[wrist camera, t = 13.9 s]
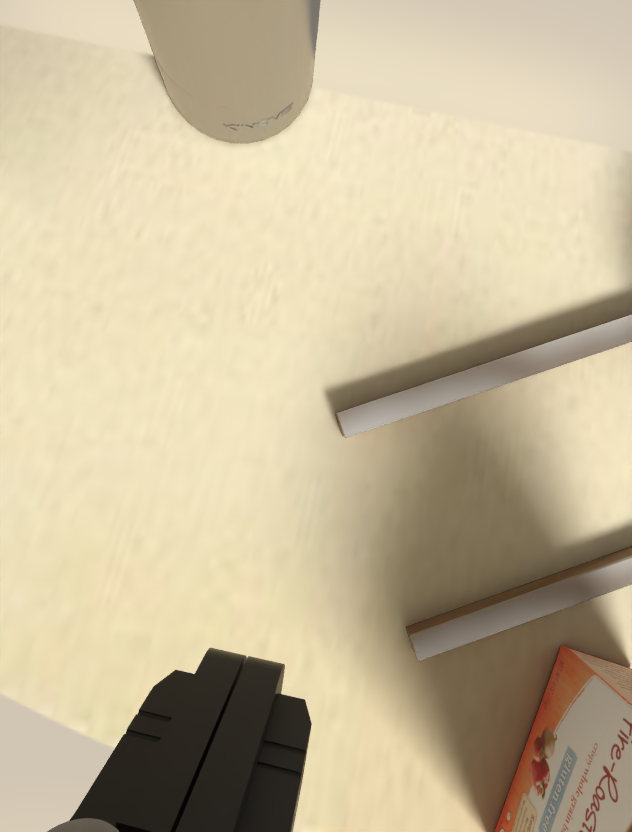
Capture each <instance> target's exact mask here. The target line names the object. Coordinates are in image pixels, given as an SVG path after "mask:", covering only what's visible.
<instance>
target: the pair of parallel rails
mask: <svg viewBox="0 0 632 832" xmlns="http://www.w3.org/2000/svg"><path fill="white" fill-rule="evenodd" d="M629 342H632V314H631V315H628V316H625V317H622V318H619V319H616V320H613V321H610V322H607V323H604V324H601V325H598V326H595V327H592V328H589V329H586V330H583V331H580V332H577V333H574V334H571V335H568V336H565V337H562V338H559V339H556V340H553V341H550V342H547V343H544V344H541V345H538V346H535V347H532V348H529V349H526V350H523V351H520V352H517V353H514V354H511V355H508V356H505V357H502V358H499V359H496V360H493V361H490V362H487V363H484V364H481V365H478V366H475V367H472V368H469V369H466V370H463V371H460V372H457V373H454V374H451V375H448V376H445V377H442V378H439V379H436V380H433V381H430V382H427V383H424V384H421V385H418V386H415V387H412V388H409V389H406V390H403V391H400V392H397V393H394V394H391V395H388V396H385V397H382V398H379V399H376V400H373V401H370V402H367V403H364V404H361V405H358V406H355V407H352V408H349V409H346V410H343V411H340V412H337V413H335V414H336V417H337V420H338V423H339V427H340V430H341V433H342V436H344V437H345V438H347V437H350V436H353V435H356V434H359V433H362V432H365V431H368V430H371V429H374V428H377V427H380V426H383V425H386V424H389V423H392V422H395V421H398V420H401V419H403V418H406V417H409V416H412V415H415V414H418V413H421V412H424V411H427V410H430V409H433V408H436V407H439V406H442V405H445V404H448V403H451V402H454V401H457V400H460V399H463V398H466V397H469V396H472V395H475V394H478V393H481V392H484V391H487V390H490V389H493V388H496V387H499V386H502V385H505V384H507V383H510V382H513V381H516V380H519V379H522V378H525V377H528V376H531V375H534V374H537V373H540V372H543V371H546V370H549V369H552V368H555V367H558V366H561V365H564V364H567V363H570V362H573V361H576V360H579V359H582V358H585V357H588V356H591V355H594V354H597V353H600V352H603V351H606V350H609V349H612V348H614V347H617V346H620V345H623V344H626V343H629ZM631 584H632V547H629V548H626V549H624V550H621V551H618V552H615V553H612V554H610V555H607V556H604V557H601V558H598V559H596V560H593V561H590V562H587V563H584V564H582V565H579V566H576V567H573V568H570V569H568V570H565V571H562V572H559V573H556V574H554V575H551V576H548V577H545V578H542V579H540V580H537V581H534V582H531V583H528V584H526V585H523V586H520V587H517V588H515V589H512V590H509V591H506V592H503V593H501V594H498V595H495V596H492V597H489V598H487V599H484V600H481V601H478V602H475V603H473V604H470V605H467V606H464V607H461V608H459V609H456V610H453V611H450V612H447V613H445V614H442V615H439V616H436V617H433V618H431V619H428V620H425V621H422V622H419V623H417V624H414V625H411V626H408V627H406V630H407V633H408V636H409V639H410V642H411V645H412V648H413V650H414V652H415V654H416V656H417V658H418V660H419V661H421V660H424V659H427V658H429V657H432V656H435V655H438V654H440V653H443V652H446V651H449V650H451V649H454V648H457V647H460V646H463V645H465V644H468V643H471V642H474V641H476V640H479V639H482V638H485V637H487V636H490V635H493V634H496V633H498V632H501V631H504V630H507V629H510V628H512V627H515V626H518V625H521V624H523V623H526V622H529V621H532V620H534V619H537V618H540V617H543V616H545V615H548V614H551V613H554V612H557V611H559V610H562V609H565V608H568V607H570V606H573V605H576V604H579V603H581V602H584V601H587V600H590V599H593V598H595V597H598V596H601V595H604V594H606V593H609V592H612V591H615V590H617V589H620V588H623V587H626V586H628V585H631Z"/></svg>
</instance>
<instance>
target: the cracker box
mask: <svg viewBox="0 0 632 832" xmlns="http://www.w3.org/2000/svg"><path fill="white" fill-rule="evenodd" d="M495 832H632V669H630V668H627V667H624V666H621V665H618V664H615V663H612V662H609V661H606V660H603V659H600V658H597V657H594V656H591V655H588V654H585V653H583V652H580V651H577V650H573V649H571V648H568V647H565V646H561V647H560V651H559V653H558V656H557V660H556V662H555V666H554V668H553V671H552V674H551V676H550V679H549V682H548V685H547V687H546V690H545V693H544V696H543V699H542V702H541V705H540V707H539V710H538V713H537V716H536V718H535V721H534V724H533V727H532V729H531V732H530V735H529V738H528V740H527V743H526V746H525V749H524V752H523V754H522V757H521V760H520V763H519V766H518V768H517V771H516V774H515V777H514V779H513V782H512V785H511V788H510V790H509V793H508V796H507V799H506V801H505V804H504V808H503V810H502V812H501V815H500V818H499V821H498V824H497V826H496V829H495Z"/></svg>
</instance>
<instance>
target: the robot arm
mask: <svg viewBox="0 0 632 832" xmlns="http://www.w3.org/2000/svg"><path fill="white" fill-rule="evenodd" d="M134 3H135V5H136V8H137V11H138V13H139V16H140V19H141V21H142V24H143V27H144V29H145V32H146V35H147V37H148V40H149V43H150V46H151V49H152V51H153V54H154V57H155V59H156V62H157V65H158V67H159V70H160V73H161V75H162V78H163V81H164V84H165V86H166V89H167V92H168V94H169V97H170V98H171V100H172V102H173V104H174V105H175V107H176V109H177V110H178V112H179V113H180V114H181V115H182V116H183V117H184V118H185V120H186V121H187V122H188V123H189V124H191V125H192V126H193V127H195V128H196V129H197V130H199V131H200V132H202V133H204V134H206V135H208V136H210V137H212V138H214V139H217V140H221V141H225V142H230V143H251V142H257V141H262V140H265V139H267V138H269V137H272V136H274V135H276V134H278V133H279V132H281V131H282V130H284V129H285V128H286V127H288V126H289V125H290V124H291V123H292V122H293V121H294V120H295V119H296V117H297V116H298V115H299V114H300V113H301V111H302V109H303V107H304V105H305V104H306V102H307V100H308V97H309V94H310V90H311V87H312V82H313V71H314V60H315V50H316V40H317V32H318V20H319V9H320V0H134ZM284 669H285V665H284V664H281V663H276V662H272V661H268V660H263V659H259V658H254V657H250V656H248V658H247V657H246V656H245V655H240V654H236V653H232V652H227V651H223V650H218V649H214V648H209V649H208V651H207V652H206V654H205V656H204V658H203V660H202V662H201V663H200V665H199V667H198V669H197V671H196V673H195V674H191V673H187V672H183V671H179V670H175V671H174V672H172V673H171V674H170V675H168V676H167V677H166V678H164V679H163V680H162V681H160V682H159V683H158V684H156V685H155V686H154V687H153V688H152V690H151V691H150V693H149V695H148V696H147V698H146V700H145V701H144V703H143V704H142V706H141V708H140V709H139V713H138V715H137V714H136V716H135V717H134V719H133V720H132V722H131V724H130V725H129V727H128V729H127V732H126V734H124V735H123V737H122V738H121V740H120V741H119V743H118V745H117V746H116V748H115V749H114V751H113V753H112V754H111V756H110V758H109V759H108V761H107V762H106V764H105V766H104V767H103V769H102V770H101V772H100V774H99V775H98V777H97V778H96V780H95V782H94V783H93V785H92V786H91V788H90V790H89V792H88V793H87V795H86V796H85V798H84V799H83V801H82V803H81V804H80V806H79V808H78V809H77V811H76V812H75V814H74V815H73V817H72V818H71V819H70V821H68V822H65V823H63V824H60V825H58V826H56V827H54V828H52V829H51V830H49V831H48V832H293V827H294V821H295V816H296V811H297V806H298V800H299V795H300V790H301V784H302V778H303V772H304V766H305V760H306V754H307V748H308V742H309V736H310V730H311V725H312V724H311V720H310V717H309V713H308V709H307V706H306V702H305V700H304V699H299V698H295V697H291V696H287V695H282V694H281V690H282V683H283V677H284Z"/></svg>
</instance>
